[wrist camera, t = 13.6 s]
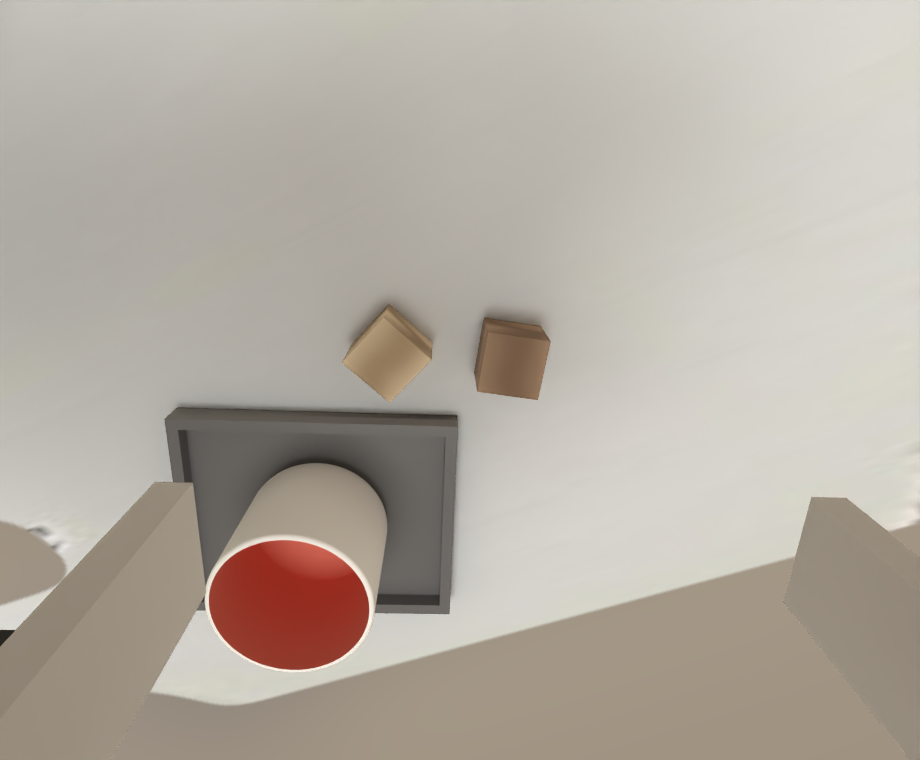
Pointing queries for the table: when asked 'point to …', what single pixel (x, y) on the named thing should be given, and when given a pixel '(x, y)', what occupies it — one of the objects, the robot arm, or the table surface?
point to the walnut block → (511, 359)
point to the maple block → (389, 354)
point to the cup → (301, 570)
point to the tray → (341, 444)
